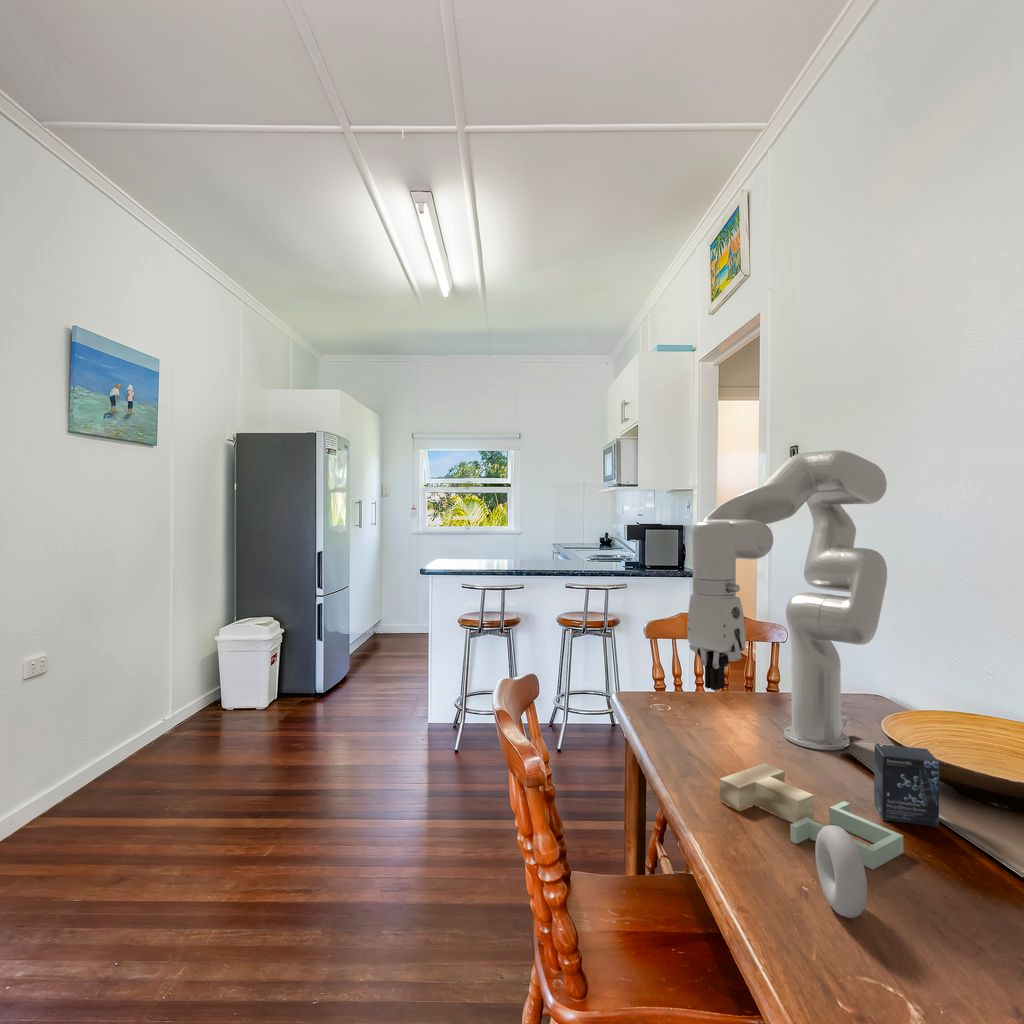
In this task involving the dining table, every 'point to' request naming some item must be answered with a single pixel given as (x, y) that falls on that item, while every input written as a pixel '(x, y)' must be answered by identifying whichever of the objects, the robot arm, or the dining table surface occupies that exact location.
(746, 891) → the dining table surface
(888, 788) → the box
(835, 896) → the donut
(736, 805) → the t block
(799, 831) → the t dock
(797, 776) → the dining table surface
